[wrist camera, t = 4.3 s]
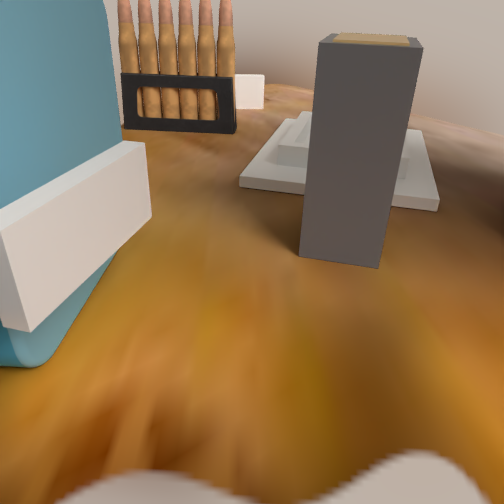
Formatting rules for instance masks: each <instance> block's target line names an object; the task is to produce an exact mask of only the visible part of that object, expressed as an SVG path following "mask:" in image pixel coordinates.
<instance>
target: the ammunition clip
mask: <svg viewBox="0 0 504 504" xmlns="http://www.w3.org/2000/svg"><path fill="white" fill-rule="evenodd" d="M138 17H139V39H138V45H137V40H136V36H135V32H134V25H133V20H132V11H131V6H130V2H129V0H118V19H119V22H118V23H119V52H120V60H121V70H122V73H121V85H122V99H123V114H124V128H125V129H133V130H154V131H176V132H198V133H220V134H233V133H235V131H236V128H237V123H236V99H235V43H234V37H233V19H232V6H231V0H221V1H220V8H219V28H218V40H217V74H216V54H215V41H214V35H213V22H212V8H211V1H210V0H200V5H199V35H198V42H197V57H198V73H197V61H196V42H195V38H194V30H193V22H192V9H191V3H190V0H180V1H179V36H178V61H177V44H176V39H175V34H174V25H173V17H172V9H171V3H170V0H159V39H158V48H159V63H160V71H159V63H158V51H157V41H156V37H155V34H154V26H153V20H152V11H151V5H150V0H138ZM138 46H139V55H138ZM139 57H140V65H139ZM178 63H179V72H178ZM140 68H141V70H140ZM160 87H161V89H160ZM179 88H180V93H179ZM161 93H162V101H161ZM198 93H199V111H198ZM216 93H217V105H216ZM143 102H144V104H143ZM180 104H181V110H180ZM162 107H163V113H162Z"/></svg>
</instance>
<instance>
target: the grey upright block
mask: <svg viewBox="0 0 504 504" xmlns="http://www.w3.org/2000/svg"><path fill="white" fill-rule="evenodd" d="M422 53H423V47H422V45H421V44H420V43H419V41H418V40H417V39H416V38H409V37H406V36H401V35H382V34H360V33H340V34H330V35H329V36H327V37H326V38H325V39H323V40H322V41H320V42H319V46H318V57H317V68H316V78H315V88H314V99H313V109H312V120H311V130H310V141H309V152H308V162H307V173H306V183H305V194H304V204H303V215H302V225H301V236H300V246H299V257H306V258H312V259H319V260H325V261H332V262H338V263H344V264H351V265H357V266H364V267H370V268H377V269H378V267H379V262H380V257H381V253H382V248H383V243H384V238H385V233H386V228H387V223H388V218H389V214H390V209H391V204H392V199H393V194H394V189H395V184H396V180H397V175H398V170H399V165H400V160H401V155H402V150H403V146H404V141H405V136H406V131H407V126H408V121H409V116H410V112H411V106H412V101H413V97H414V92H415V87H416V82H417V77H418V72H419V68H420V63H421V58H422Z"/></svg>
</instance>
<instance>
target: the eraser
mask: <svg viewBox="0 0 504 504" xmlns="http://www.w3.org/2000/svg"><path fill="white" fill-rule="evenodd" d="M235 99H236V109H263V99H264V75H242V74H241V75H240V74H235Z"/></svg>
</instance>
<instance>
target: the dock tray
mask: <svg viewBox="0 0 504 504" xmlns="http://www.w3.org/2000/svg"><path fill="white" fill-rule="evenodd" d="M311 120H312V112H307V111H302V113H301V114H300V115H299V117H298V118H297V119H290V118H286V119H285V120H284V122H283V123H282V124H281V125H280V126H279V128H278V129H277V130H276V131H275V133H274V134H273V135H272V136H271V138H270V139H269V140H268V141H267V142H266V144H265V145H264V146H263V147H262V149H261V150H260V151H259V152H258V153H257V155H256V156H255V157H254V158H253V160H252V161H251V162H250V163H249V164H248V166H247V167H246V168H245V169H244V171H243V172H242V173H241V174H240V176H239V187H246V188H254V189H262V190H270V191H277V192H285V193H293V194H301V195H304V194H305V183H306V173H307V162H308V152H309V141H310V130H311ZM439 201H440V198H439V195H438V191H437V187H436V183H435V180H434V176H433V172H432V168H431V165H430V161H429V157H428V153H427V150H426V146H425V142H424V139H423V135H422V131H421V130H412V129H407V131H406V136H405V141H404V146H403V150H402V155H401V160H400V165H399V170H398V175H397V180H396V184H395V189H394V194H393V199H392V204H391V206H397V207H405V208H413V209H421V210H429V211H437V209H438V205H439Z"/></svg>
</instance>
